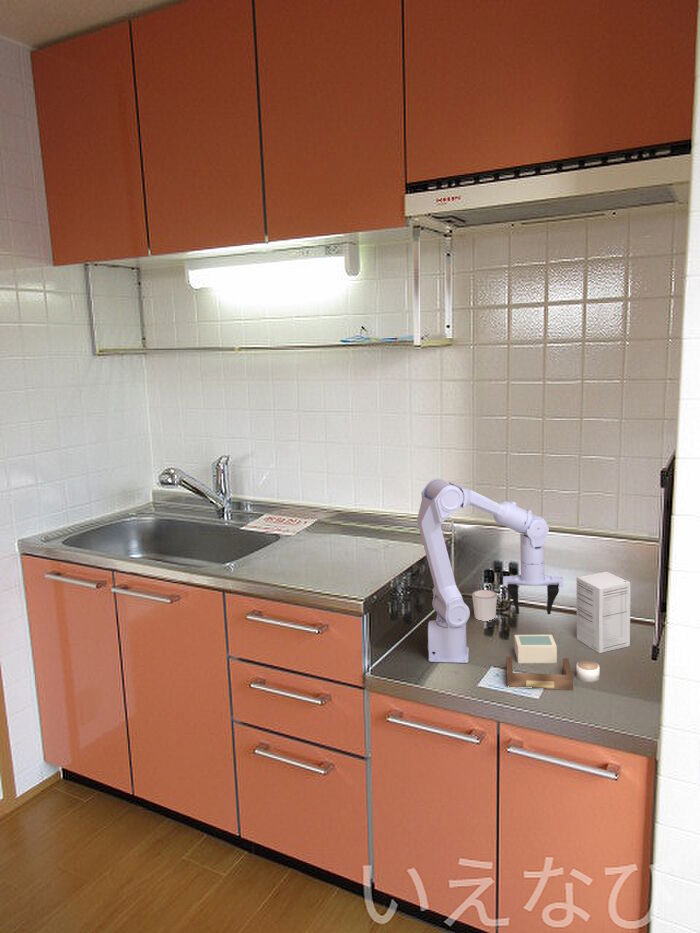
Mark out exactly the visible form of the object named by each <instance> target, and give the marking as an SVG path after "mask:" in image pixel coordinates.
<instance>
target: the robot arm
mask: <svg viewBox="0 0 700 933" xmlns="http://www.w3.org/2000/svg"><path fill="white" fill-rule="evenodd" d="M517 504H518V503H517V502H515V501H513V500H509V501H506V500H503V501H501V502H496V501H494V500H493V499H490V498H489V497H487V496H484V495H483V494H480V493H478V492H476V491H474V490H472V489H470V488H468V487H466V486H465V485H460V484H457V483H455V482H451V481H448V482H447V481H445V480H444V479H442V478H434V479H432V480H430V481H429V482H428V483H427V484H426V486H425V487H424V488H423V489H422V491H421V501H420V505H419V509H418V514H417V518H416V522H417V526H418V530H419V534H420V537H421V540H422V541H421V542H422V545H423V549H424V552H425V557H426V559H427V564H428V567H429V571H430V575H431V579H432V583H433V588H432V594H433V596H432V598H433V599H432V603H431V604H432V608H433V610H434V611H435V612H436V619H435V620H429V621H428V625H427V640H428V642H427V650H428V662H430V663H431V662H432V663H456V664H457V663H458V664H461V663H462V664H467V663H469V652H470V651H469V649H470V648H469V646H467V622H468V620H469V618H470V615H471V612H470V608H469V606H468V605H467V604H466V603H465V602H464V599H463V596H462V594H461V592H460V590H459V588H458V586H457V583H456V580H455V576H454V573H453V568H452V565H451V561H450V558H449V556H450V555H449V553H448V548H447V545H446V541H445V537H444V533H443V530H442V524H444V522H445V520H446V519H448V518H449V517H450V516H452V514H454V513H455V512H456V511H458V510H459V508H462V509H465V508H467V507H469V506H471V507H473V508H476V509H478V510H481V511H484V512H485V513H488V514H491V515H492V516H493V519H494V521H495V523H496V524H499V525H502V526H504V527H505V528H508V529H510V530H512V531H514V532H516V533H519V535H520V536H519V537H520V538H519V539H520V542H519V543H520V574H515V575H507V576H504V575H503V576H502V586H503V587H507V591H508V593H509V595H510V597H511V600H512V602H513V605H514V608H515V614H516V615H519V614H520V607H519V606H520V605H519V586H528V587H529V586H530V587H532V586H533V587H534V586H536V587H537V586H541V587H544V586H545V587H546V588H547V589H546V590H547V600H546V601H547V602H546V614H547V615H551V614H552V607H553V605H554V602H555V600H556V598H557V596H558V594H559V592H560V588H563V587H564V579H563V576H553V575H546V574H545V544H546V543H545V542H546V541H545V539H546V537H547V535H548V534H549V530H550V527H549V526H548V523H547V521H546V519H545V518H543V517H542V516H539V515H537V514H535V513H533V511H532V510H530V509H529V508H526V509H524V508H522V507H520V506H518V505H517Z"/></svg>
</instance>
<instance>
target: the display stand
mask: <svg viewBox="0 0 700 933" xmlns="http://www.w3.org/2000/svg"><path fill="white" fill-rule="evenodd" d="M505 658H506V660H505V661H506V662H505V663H506V681H507V682H506V683H507V687H508V686H509V687H532V688H546V689H545V690H553V689H561V690H562V691H574V677H573V673H572V672H573V671H572V668H571V664H570V659H569V658H567V657H566V658H565V657H564V658H562V672H563V674H557V673H555V674H554V673H553V674H552V673H532V672H531V673H530V672H529V673H527V672H514V671H513V670H514V669H513V656H509V655H507V656H506V657H505ZM561 690H560V691H561Z"/></svg>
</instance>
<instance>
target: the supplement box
mask: <svg viewBox="0 0 700 933" xmlns="http://www.w3.org/2000/svg"><path fill="white" fill-rule="evenodd" d="M631 591H632V590H631V582H630V581H629V580H626V579H624V578H621V576H617V575H616V574H613V573H611V572H609V571H602V572H597V573H592V574H588V575H587V574H586V575H583V576H578V577H576V640H578V641H579V642H580V643H582V644H584V645H586V647H587V648H588V647H589V648H590V649H591V650H594V651H595V652H597V653H598V654H601V653H602V654H603V653H606V652H611V651H615V650H618V649H619V650H620V649H623V648H628V647H630V646H631Z"/></svg>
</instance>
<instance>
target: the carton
mask: <svg viewBox="0 0 700 933" xmlns="http://www.w3.org/2000/svg"><path fill="white" fill-rule="evenodd" d="M557 649H558V646H557V644H556V641H555V639H554V636H553V634H514V653H515V657H516V661H517V663H518V664H557V662H558V661H557V660H558V656H557V655H558V653H557V652H558V650H557Z"/></svg>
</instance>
